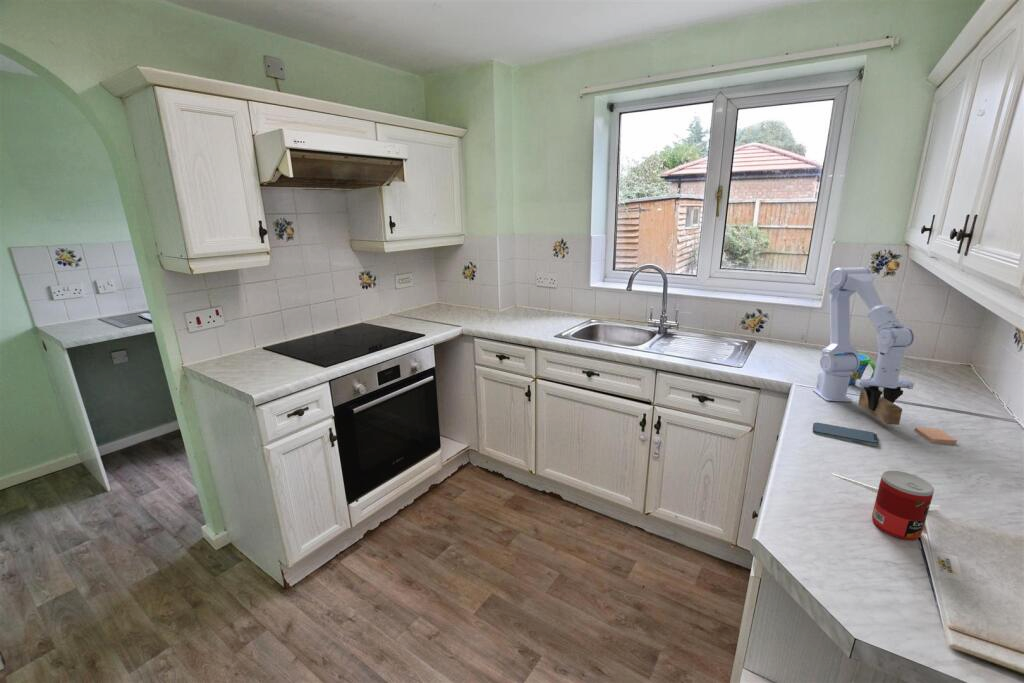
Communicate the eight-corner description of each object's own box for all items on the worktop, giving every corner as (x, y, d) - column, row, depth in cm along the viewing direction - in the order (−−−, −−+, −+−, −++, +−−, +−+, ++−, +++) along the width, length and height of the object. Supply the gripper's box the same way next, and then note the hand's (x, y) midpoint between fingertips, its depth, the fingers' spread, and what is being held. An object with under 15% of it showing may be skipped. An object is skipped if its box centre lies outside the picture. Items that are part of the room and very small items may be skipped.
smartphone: (813, 421, 137) (876, 432, 129) (812, 426, 137) (875, 437, 129) (812, 431, 131) (878, 443, 123) (811, 436, 131) (877, 449, 123)
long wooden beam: (858, 404, 144) (861, 390, 143) (868, 405, 144) (871, 390, 142) (887, 424, 131) (891, 408, 129) (898, 424, 130) (902, 408, 129)
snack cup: (878, 385, 165) (884, 359, 162) (862, 391, 160) (868, 363, 157) (832, 372, 178) (837, 347, 175) (816, 377, 173) (821, 352, 170)
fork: (832, 473, 113) (833, 467, 112) (939, 512, 98) (941, 504, 97) (827, 478, 111) (828, 471, 110) (936, 518, 96) (938, 510, 95)
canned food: (914, 547, 87) (928, 498, 84) (864, 524, 94) (876, 478, 91) (925, 530, 92) (939, 483, 89) (878, 510, 98) (889, 465, 95)
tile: (914, 427, 132) (931, 439, 125) (938, 428, 130) (956, 440, 124) (913, 432, 132) (930, 444, 125) (937, 433, 131) (955, 445, 124)
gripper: (869, 371, 130) (860, 414, 134) (925, 372, 128) (914, 416, 132) (855, 363, 137) (846, 404, 141) (907, 364, 135) (897, 406, 139)
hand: (878, 409), depth 137 cm, fingers closed on long wooden beam, 3 cm apart
